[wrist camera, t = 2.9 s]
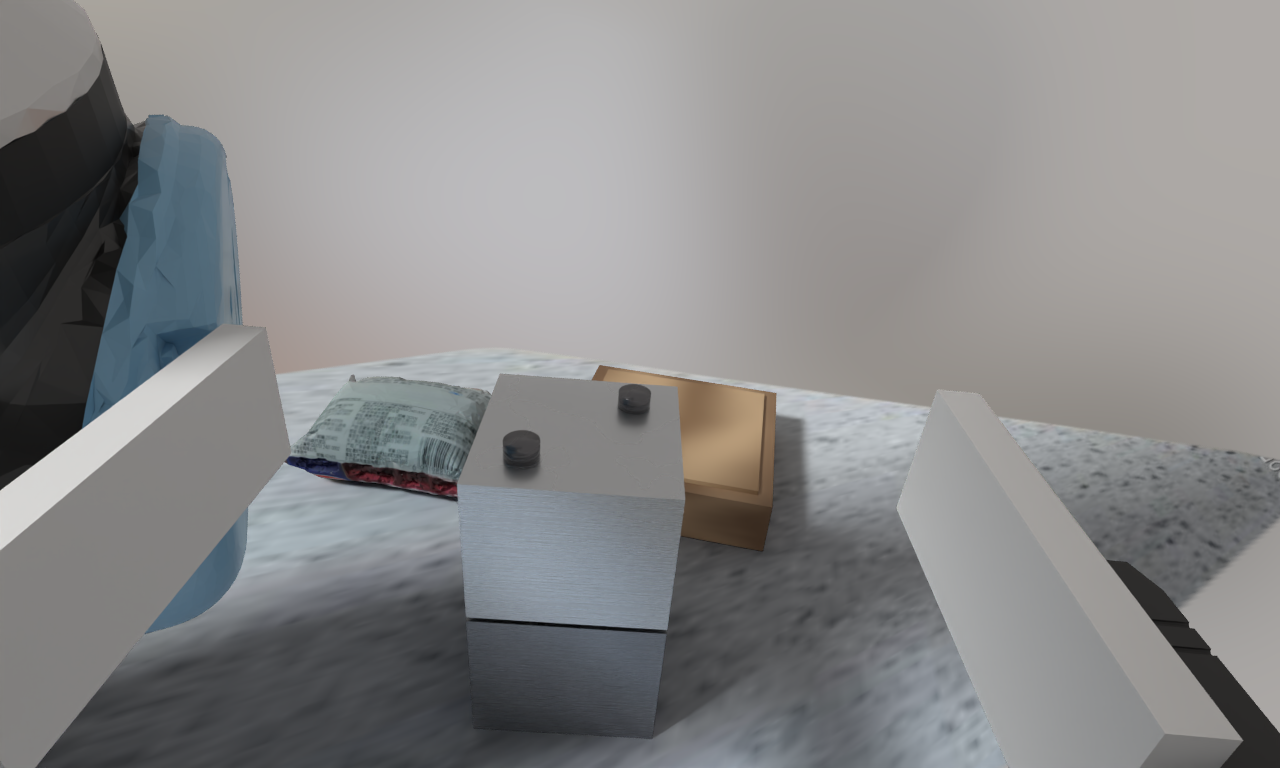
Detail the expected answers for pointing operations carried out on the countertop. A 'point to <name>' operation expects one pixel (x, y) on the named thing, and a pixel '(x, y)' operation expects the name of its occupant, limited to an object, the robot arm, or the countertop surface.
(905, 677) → the countertop surface
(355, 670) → the countertop surface
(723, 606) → the countertop surface
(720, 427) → the stand
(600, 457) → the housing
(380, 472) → the packaged food
